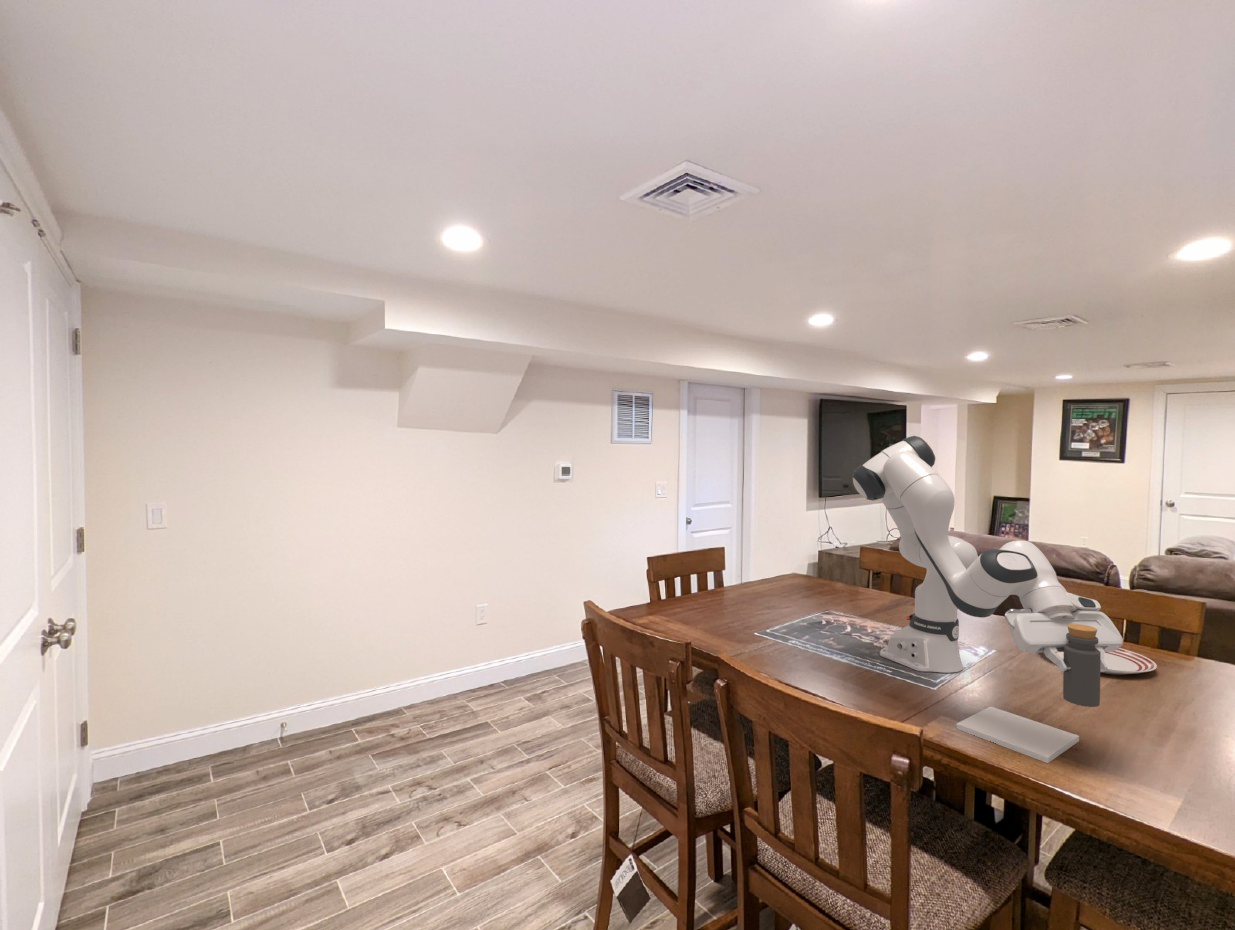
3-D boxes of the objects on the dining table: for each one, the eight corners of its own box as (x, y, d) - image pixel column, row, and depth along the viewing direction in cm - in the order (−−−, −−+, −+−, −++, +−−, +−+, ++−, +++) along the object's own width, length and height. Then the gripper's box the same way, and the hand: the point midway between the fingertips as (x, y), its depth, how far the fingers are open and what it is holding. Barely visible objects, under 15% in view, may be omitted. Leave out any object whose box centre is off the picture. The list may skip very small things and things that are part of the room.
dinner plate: (1110, 649, 188) (1110, 638, 188) (1183, 683, 161) (1184, 671, 161) (1018, 646, 191) (1019, 636, 191) (1076, 680, 164) (1076, 668, 164)
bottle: (1055, 695, 122) (1056, 623, 121) (1082, 694, 122) (1083, 622, 122) (1080, 708, 116) (1081, 632, 116) (1107, 706, 117) (1109, 631, 116)
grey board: (956, 728, 136) (956, 723, 136) (990, 711, 144) (990, 706, 144) (1047, 763, 121) (1047, 757, 121) (1078, 741, 130) (1079, 735, 130)
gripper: (1007, 601, 126) (1039, 664, 116) (1105, 600, 125) (1145, 663, 116) (994, 616, 130) (1024, 677, 121) (1089, 615, 130) (1125, 677, 121)
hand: (1084, 670), depth 118 cm, fingers closed on bottle, 6 cm apart
